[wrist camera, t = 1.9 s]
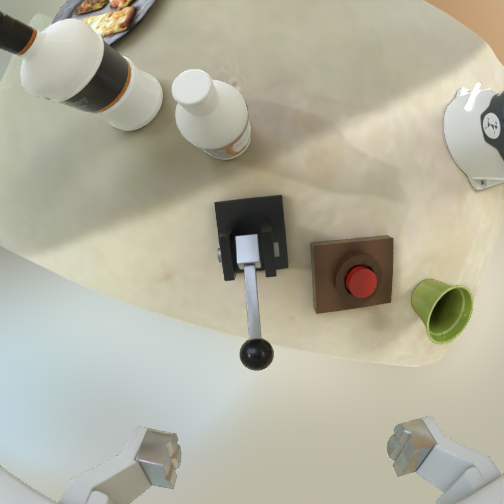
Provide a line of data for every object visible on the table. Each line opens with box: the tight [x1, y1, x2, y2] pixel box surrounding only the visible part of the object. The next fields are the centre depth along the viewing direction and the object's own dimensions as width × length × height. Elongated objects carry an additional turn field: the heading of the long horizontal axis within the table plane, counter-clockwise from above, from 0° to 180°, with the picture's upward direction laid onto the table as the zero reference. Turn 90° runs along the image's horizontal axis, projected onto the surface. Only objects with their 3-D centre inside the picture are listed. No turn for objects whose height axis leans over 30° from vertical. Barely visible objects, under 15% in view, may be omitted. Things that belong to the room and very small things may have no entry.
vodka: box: [0, 11, 163, 131], centre depth 20 cm, size 9×9×30 cm
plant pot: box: [411, 279, 473, 344], centre depth 35 cm, size 9×9×9 cm
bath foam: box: [172, 69, 252, 160], centre depth 26 cm, size 7×7×20 cm
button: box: [346, 266, 377, 298], centre depth 35 cm, size 4×4×2 cm
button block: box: [311, 235, 393, 314], centre depth 37 cm, size 12×10×4 cm
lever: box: [235, 234, 274, 371], centre depth 26 cm, size 13×3×3 cm, turn 6°
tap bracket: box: [214, 195, 288, 281], centre depth 32 cm, size 10×9×13 cm
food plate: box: [51, 0, 156, 46], centre depth 28 cm, size 25×23×4 cm
